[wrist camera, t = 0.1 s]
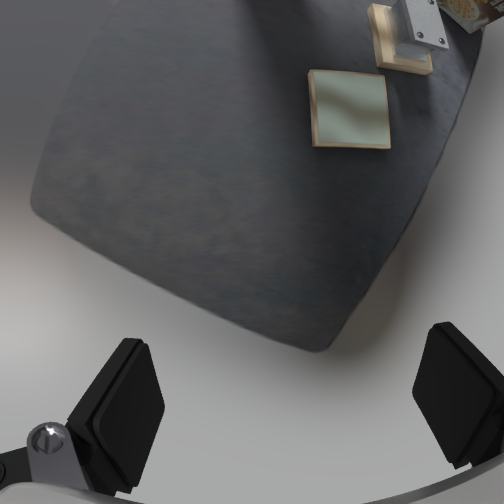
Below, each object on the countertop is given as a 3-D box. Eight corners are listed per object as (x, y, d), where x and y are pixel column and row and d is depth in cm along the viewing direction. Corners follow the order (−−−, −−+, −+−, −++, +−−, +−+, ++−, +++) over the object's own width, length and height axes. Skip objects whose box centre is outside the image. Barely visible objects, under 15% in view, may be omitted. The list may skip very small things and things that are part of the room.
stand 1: (307, 74, 33) (310, 68, 31) (378, 79, 33) (385, 75, 31) (312, 146, 36) (316, 145, 34) (384, 149, 36) (391, 148, 33)
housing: (383, 10, 28) (401, -12, 21) (413, 17, 27) (435, -2, 21) (392, 56, 30) (415, 39, 23) (423, 63, 30) (449, 49, 23)
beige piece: (366, 10, 30) (372, 3, 27) (413, 20, 30) (420, 14, 27) (376, 67, 33) (383, 61, 30) (424, 75, 32) (432, 71, 30)
